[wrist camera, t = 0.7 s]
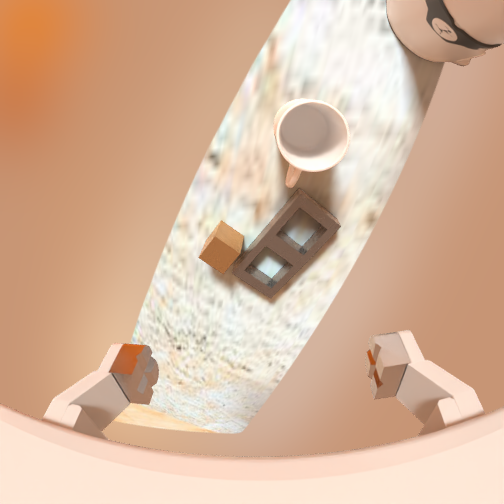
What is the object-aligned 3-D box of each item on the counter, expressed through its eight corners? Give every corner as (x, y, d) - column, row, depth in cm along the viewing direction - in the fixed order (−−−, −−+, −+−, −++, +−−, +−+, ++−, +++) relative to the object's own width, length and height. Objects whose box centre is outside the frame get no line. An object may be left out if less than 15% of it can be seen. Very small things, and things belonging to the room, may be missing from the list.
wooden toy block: (221, 220, 49) (214, 236, 43) (243, 236, 50) (240, 253, 44) (206, 240, 50) (198, 257, 45) (228, 255, 52) (223, 274, 46)
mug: (307, 183, 45) (317, 211, 34) (255, 160, 44) (249, 180, 33) (341, 115, 39) (365, 121, 29) (288, 89, 38) (293, 84, 28)
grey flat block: (299, 187, 45) (300, 193, 43) (337, 218, 47) (340, 226, 44) (234, 263, 52) (231, 273, 50) (270, 288, 54) (270, 298, 51)
